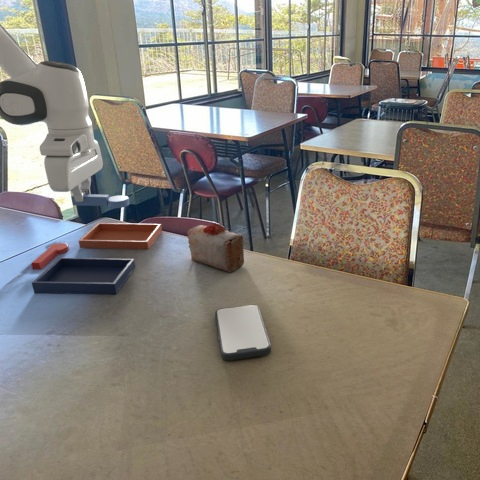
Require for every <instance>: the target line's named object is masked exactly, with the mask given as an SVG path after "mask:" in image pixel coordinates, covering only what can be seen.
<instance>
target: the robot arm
mask: <svg viewBox="0 0 480 480" xmlns="http://www.w3.org/2000/svg"><path fill="white" fill-rule="evenodd" d="M0 68H1V69H2V70H3V71H4V72H5V73H6V74H7V75H8V76H9V77H10V78H7V79H4V80H2V81H0V118H1V119H2V120H4V121H5V122H7V123H9V124H11V125H15V126H29V125H33V124H35V123H41V122H42V123H45V124H46V128H47V132H48V133H47V134H46V136H45V138H44V140H43V142H42V143H41V144H40V145H39V152H40V155H41V156H45V157H44V160H43V165H44V171H45V175H46V179H47V183H48V186H49V188H50V189H51V190H52V191H53V192H54V193H55V192H56V193H69V192H71V193H72V196H73V195H74V199H75V201H76V202H82V201H83V200H85V194H92V193H91V183H92V176H93V175H96V174H97V173H98V172H100V170H102V169H103V165H104V162H103V156H102V152H101V148H100V144H99V142H98V141H97V140H96V139H95V135H94V129H93V122H92V120H91V118H90V114H89V109H90V103H89V98H88V97H89V96H88V92H87V88H86V84H85V80H84V78H83V75H82V73H81V71H80V69H79V68H78V67H76V66H75V65H73V64H71V63H67V62H64V61H55V60H42V61H40V62H38V63H37V62H36V61H35V60H34V59H33V58H32V57H31V56H30V55H29V53H27V51H26V50H25V49H24V48H23V47H22V46H21V45H20V43H19V42H18V41H17V40H16V38H14V36H12V35H11V33H10V32H8V31H7V29H6V28H4V26H3V25H2V24H1V23H0Z"/></svg>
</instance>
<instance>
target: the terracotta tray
mask: <svg viewBox="0 0 480 480" xmlns="http://www.w3.org/2000/svg"><path fill="white" fill-rule="evenodd" d="M162 232H163V228H162V223H132V222H131V223H130V222H128V223H127V222H126V223H124V222H97V223H96V224H95V225H94V226H93V227H92V228H91V229H90V230H89V231H87V232H86V233H85V234H84V235H83V236H81V238H79V239H78V245H79V248H80V249H112V250H117V249H119V250H149V249H150V248H151V247H152V245H153V244H154V242H155V241H156V240H157V238H158V237H159V236H160V234H161V233H162Z"/></svg>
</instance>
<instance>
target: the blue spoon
mask: <svg viewBox="0 0 480 480" xmlns="http://www.w3.org/2000/svg"><path fill="white" fill-rule="evenodd" d="M70 198H71V204H72V206H82V207H83V206H84V207H85V206H87V207H89V206H90V207H91V206H92V207H109V208H112V209H122V208H126V207H128V206H129V205H130V198H129V196H128V195H121V194H120V195H112V196H110V194H100V193H99V194H95V193H94V194H93V193H91V194H85V200H83V201H82V202H76V201H75V199H74V195H73V194H72V195H71V196H70Z"/></svg>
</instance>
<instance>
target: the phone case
mask: <svg viewBox="0 0 480 480" xmlns="http://www.w3.org/2000/svg"><path fill="white" fill-rule="evenodd" d="M214 316H215V323H216V330H217V342H218V345H219V350H220V357H221V359H222V360H223V361H227V362H229V361H235V360H236V361H237V360H243V359H249V358H257V357H265V356H267V355H269V354H271V352H272V344H271V342H270V337H269V334H268V331H267V329H266V325H265V322H264V320H263V316H262V313H261V310H260V307H259V306H258V305H257V304H247V305H239V306H230V307H229V306H228V307H222V308H218V309H216V310H215V312H214Z"/></svg>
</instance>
